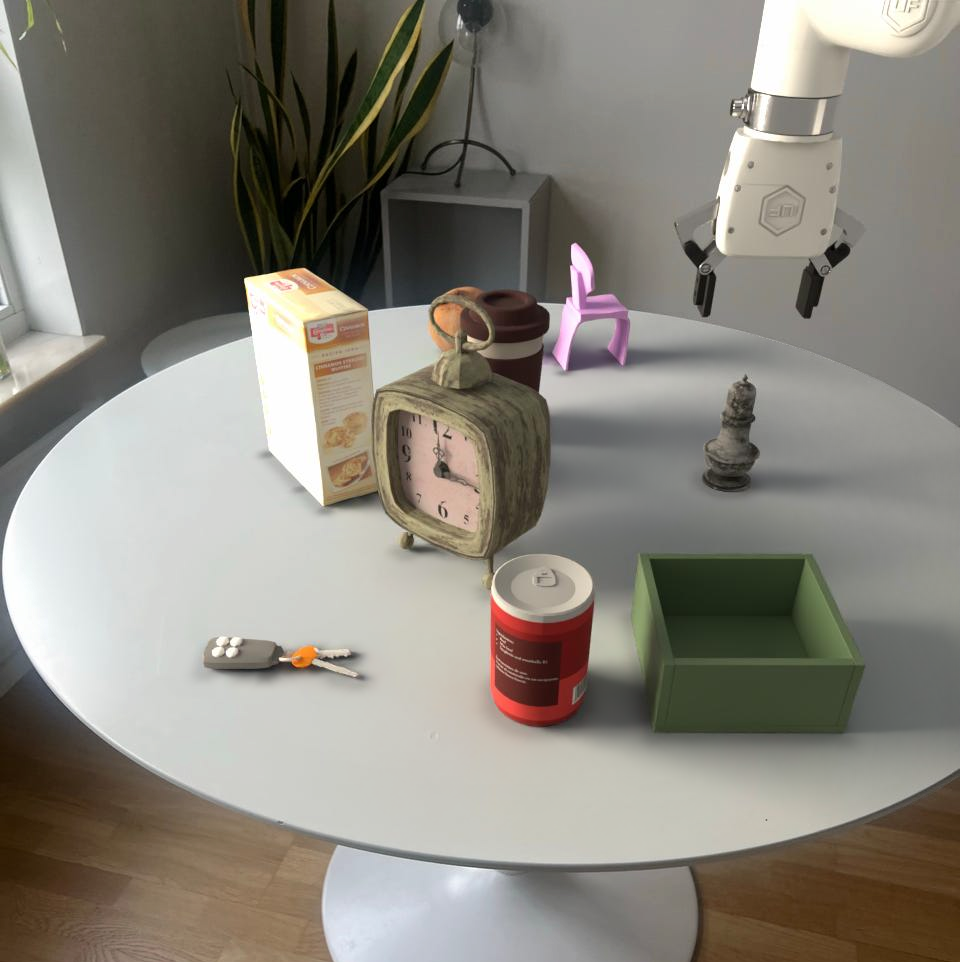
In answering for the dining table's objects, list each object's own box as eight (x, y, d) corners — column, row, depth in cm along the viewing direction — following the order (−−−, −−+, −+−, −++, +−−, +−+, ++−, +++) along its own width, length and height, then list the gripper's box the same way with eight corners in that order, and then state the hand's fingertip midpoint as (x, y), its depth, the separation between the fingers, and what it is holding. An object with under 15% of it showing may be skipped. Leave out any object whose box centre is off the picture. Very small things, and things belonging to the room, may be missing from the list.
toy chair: (630, 368, 128) (642, 251, 119) (567, 373, 126) (574, 256, 117) (610, 344, 134) (620, 232, 125) (550, 350, 133) (555, 236, 123)
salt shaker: (687, 478, 105) (703, 373, 97) (720, 461, 108) (738, 357, 100) (732, 499, 101) (752, 391, 94) (765, 480, 104) (787, 374, 97)
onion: (449, 383, 131) (423, 328, 123) (438, 340, 137) (411, 284, 128) (514, 357, 130) (492, 299, 122) (500, 314, 135) (478, 256, 127)
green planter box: (796, 617, 85) (812, 553, 81) (844, 733, 74) (866, 665, 70) (630, 617, 85) (638, 552, 81) (653, 732, 74) (664, 664, 70)
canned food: (569, 657, 81) (577, 547, 74) (598, 721, 75) (610, 607, 68) (480, 669, 80) (480, 558, 73) (502, 736, 74) (505, 621, 67)
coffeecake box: (383, 490, 103) (370, 308, 91) (322, 508, 100) (300, 322, 88) (324, 435, 113) (306, 264, 100) (267, 450, 110) (241, 276, 98)
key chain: (201, 673, 79) (197, 660, 78) (213, 645, 82) (210, 631, 81) (357, 679, 79) (356, 665, 78) (364, 650, 82) (363, 637, 81)
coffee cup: (502, 400, 120) (504, 278, 111) (562, 425, 115) (569, 299, 105) (444, 425, 115) (441, 298, 105) (503, 453, 109) (506, 322, 100)
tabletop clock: (379, 549, 94) (359, 290, 78) (441, 512, 99) (434, 263, 84) (495, 606, 87) (498, 333, 71) (554, 562, 92) (570, 300, 76)
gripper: (697, 122, 79) (669, 326, 90) (906, 125, 80) (853, 329, 90) (683, 104, 85) (658, 298, 96) (877, 107, 85) (831, 300, 96)
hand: (752, 313), depth 93 cm, fingers open, 9 cm apart
